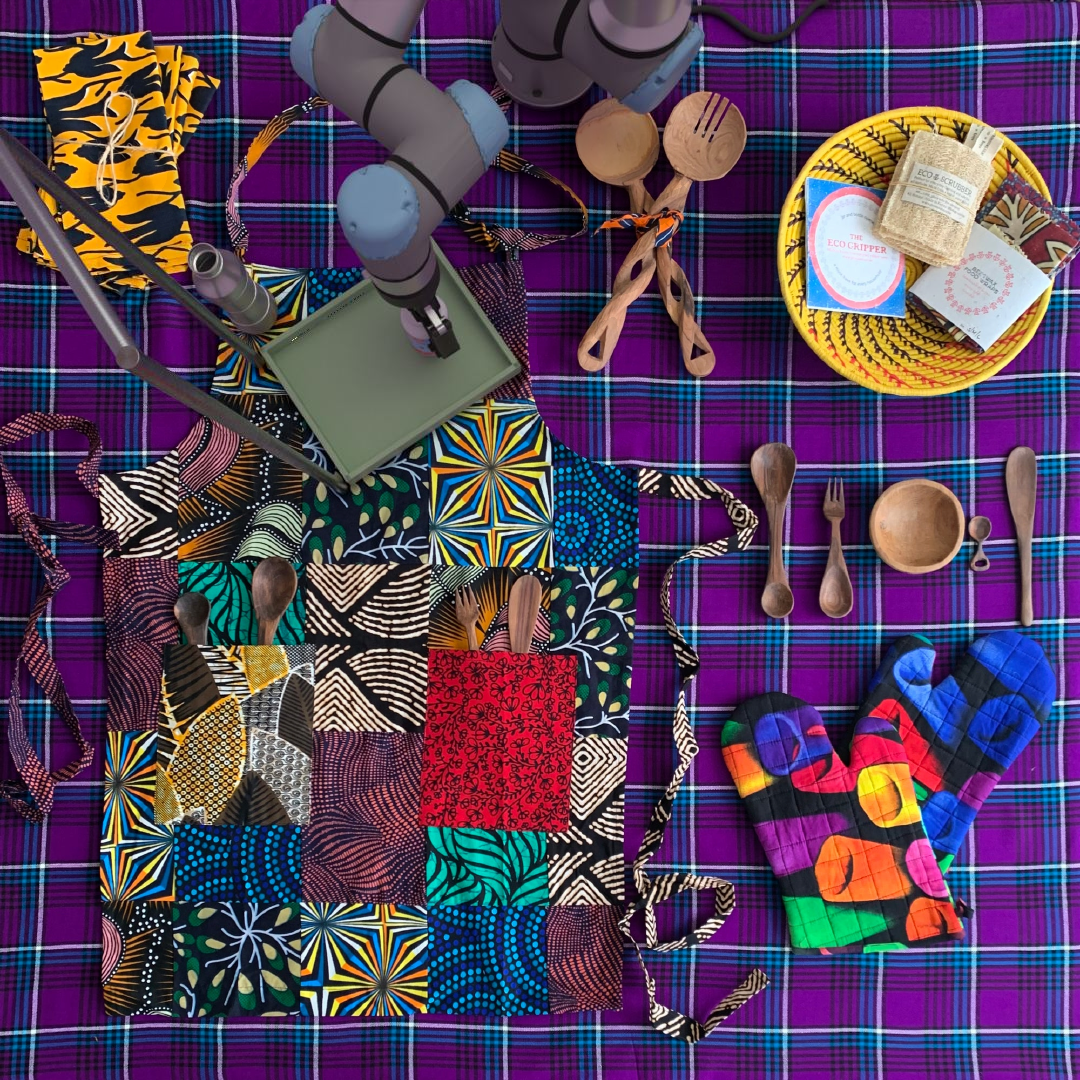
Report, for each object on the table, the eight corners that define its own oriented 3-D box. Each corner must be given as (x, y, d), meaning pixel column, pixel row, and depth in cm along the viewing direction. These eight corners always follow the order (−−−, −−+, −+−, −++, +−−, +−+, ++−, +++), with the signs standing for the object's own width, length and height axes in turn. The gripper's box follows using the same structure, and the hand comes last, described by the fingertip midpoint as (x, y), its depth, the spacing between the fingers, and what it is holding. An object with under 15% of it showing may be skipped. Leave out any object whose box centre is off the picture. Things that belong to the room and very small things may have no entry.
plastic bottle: (285, 293, 125) (233, 232, 105) (278, 341, 124) (226, 289, 104) (238, 289, 125) (178, 227, 105) (232, 337, 124) (170, 283, 104)
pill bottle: (402, 348, 123) (388, 320, 112) (418, 307, 124) (406, 275, 112) (444, 363, 123) (434, 337, 112) (460, 322, 123) (452, 292, 112)
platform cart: (431, 241, 125) (313, -124, 63) (523, 373, 123) (492, 131, 62) (251, 361, 124) (-49, 108, 62) (340, 496, 122) (123, 373, 61)
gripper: (325, 212, 99) (368, 287, 122) (421, 354, 98) (447, 403, 121) (382, 174, 99) (415, 257, 122) (479, 316, 98) (494, 372, 121)
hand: (431, 329), depth 121 cm, fingers closed on pill bottle, 6 cm apart
